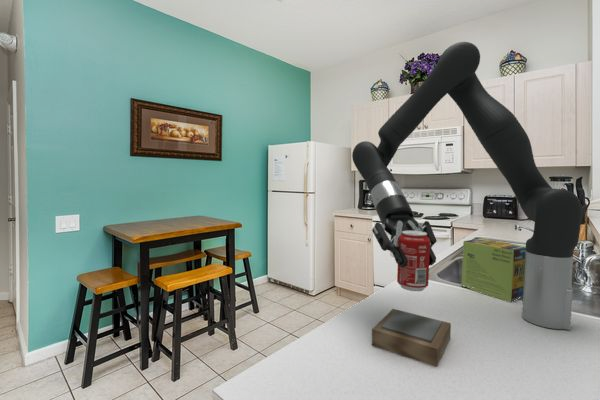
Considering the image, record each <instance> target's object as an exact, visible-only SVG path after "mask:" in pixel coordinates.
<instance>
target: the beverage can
mask: <svg viewBox="0 0 600 400" xmlns="http://www.w3.org/2000/svg"><path fill="white" fill-rule="evenodd" d="M399 244H400V246H399V247H401V250H402V251H403V253H404V255H405V257H406V259H407V262H408V263H407V265H406V266H405V267H400V266H399V265H398V264H397V273H396V274H397V275H396V277H397V281H396V282H397V283H398V284H399V286H400V287H401V288H402V289H404V290H406V291H408V292H409V291H410V292H422V291H424V290H425V289H426V288H428V286H429V277H430V275H429V272H430V266H429V256H430V239H429V238H428V237H427V233H426V232H422V231H402V235H401V236H400V238H399Z"/></svg>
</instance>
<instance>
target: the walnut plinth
mask: <svg viewBox="0 0 600 400" xmlns="http://www.w3.org/2000/svg"><path fill="white" fill-rule="evenodd" d="M451 327H452V325H451V322H447V321H443V320H439V319H435V318H432V317H427V316H424V315H419V314H415V313H411V312H408V311H404V310H399V309H395V308H392V309H391V310H390V311H389V312H388V313H387V314H386V315H385V316H384V317H383V318H382V319H380V320H379V321H378V322H377V324H375V326H374V327H372V329H371V346H374V347H376V348H380V349H382V350H386V351H388V352H391V353H393V354H397V355H400V356H403V357H405V358H409V359H412V360H415V361H418V362H422V363H424V364H427V365H430V366H433V367H436V368H437V367H438V366H439V363H440V361H441V359H442V356H443V355H444V353H445V350H446V348H447V347H448V344H449V343H450V342H449V341H450V340H451Z"/></svg>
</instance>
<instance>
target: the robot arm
mask: <svg viewBox="0 0 600 400" xmlns="http://www.w3.org/2000/svg"><path fill="white" fill-rule="evenodd" d="M438 59H439V60H438V61H437V63H436V65H435V66H434V67H433V68H432V70H431V72H430V73H429V74H428V76H427V77H426V78H425V79H424V81H423V82H422V83H421V84H420V86H419V87H418V88H417V89H416V90H415V91H414V92H413V93H412V94H411V95H410V96H409V98H407V99H406V100H405V102H404V103H403V104H402V105H401V106H400V107H399V108H398V109H397V110H396V111H395V112H394V113H393V114H392V115H391V116H390V118H388V120H386V121H385V123H384V124H383V125H382V126H381V127H380V128H379V130H378V137H379V139H380V142H379V144H378V146H376V145H375V143H373V142H371V141H365V140H364V141H361V142H359V143H357V144H356V145H355V146H354V147H353V150H352V153H351V157H352V162H353V164H354V166H355V168H356V169H357V170H358V172H359V174H360V176H361V177H362V179H363V180H364V182H365V183H366V187H367V189H368V192H369V194H370V196H371V201H372V204H373V206H374V209H375V211H376V213H377V215H378V218H379V221H380V222H375V224H374V226H373V227H372V229H371V230H372V233H373V235H374V237H375V239H376V241H377V243H378V244H379V246H380V248H381V250H382V251H384V252H385V251H389V252H390V253H392V256H393V258H394V261H395V263H396V264H397V266H398V265H399V266H400V267H405V266H406V265H407V263H408V262H407V259H406V257H405V255H404V253H403V251H402V250H401V247H399V246H400V244H399V238H400V236H401V235H402V231H422V232H426V233H427V237H428V238H429V239H430V256H429V267H430V266H433V265H434V264H435V263H436V261H437V257H436V255H435V253H434V251H433V249H432V247H433V246H434V245H435V244H436V243H437V242H438V241H437V238H436V236H435V234H434V230H433V228H432V226H431V223H430V222H429V221H427V220H426V221H424V222H418V221H417V220H416V219H415V218H414V214H413V209H412V208H411V205H410V204H409V201H408V200H407V197H406V196H405V194H404V192H403V191H402V188H401V187H400V185H398V183H397V181H396V179H395V177H394V175H393V173H392V171H391V170H390V169H389V168H388V166H390V165H389V164H390V163H391V162H392V160H393V158H394V157H395V155H396V153H397V150H399V147H400V146H401V145H402V144H403V143H404V142H405V141H406V140H407V138H409V137H410V135H411V134H412V133H413V132H414V131H415V130H416V129H417V128H418V126H419V125H420V124H421V123H422V122H423V121H424V119H425V118H426V117H427V115H428V114H429V113H430V112H431V111H432V110H433V108H434V107H435V106H436V105H438V103H439V102H440V101H441V100H443V98H444V97H445V96H446V95H447V94H448V96H449V97H450V98H451V99H452V100H453V101H454V104H456V105H457V106H458V108H459V110H460V111H461V113H462V115H463V116H464V118H465V120H466V122H467V123H468V125H469V127H470V128H471V129H472V131H473V133H474V135H475V136H476V138H477V140H478V142H479V143H480V144H481V146H482V148H483V149H484V150H485V153H487V155H488V156H489V157H490V159H491V160H492V162H493V163H494V165H495V166H496V167H497V169H498V171H499V172H500V173H501V175H502V176H503V177H504V178H505V179H506V181H507V183H508V185H509V186H510V188H511V191H512V193H513V194H514V196H515V198H516V200H517V202H518V204H519V206H520V208H521V210H522V212H523V214H524V215H525V217H526V218H528V219H529V220H530V221H532V222H533V223H534V226H533V234H532V236H531V237H529V238H528V239H527V240H525V241H526V242H525V246H526V248H525V269H524V287H523V298H522V307H521V310H522V311H521V316H522V317H521V318H522V319H524V320H525V321H527V322H528V323H531V324H533V325H535V326H538V327H542V328H548V329H552V330H553V329H555V330H567V331H570V330H571V324H572V322H571V321H572V306H573V305H572V304H573V289H572V282H573V281H572V280H573V279H572V278H573V264H574V252H575V248H576V247H577V245H578V244H579V239H580V233H581V226H582V216H583V214H582V213H583V210H582V203H581V200H580V198H579V197H578V195H576V194H575V193H574V192H573V191H570V190H567V189H563V188H553V187H552V186H551V185H550V184H549V183H548V182H547V180H546V179H545V178H544V176H543V175H542V173H541V172H540V171H539V169H538V166H537V165H536V162H535V158H534V153H533V148H532V145H531V141H530V140H531V139H530V138H529V135H528V133H527V132H526V130H525V129H524V128H523V126H522V124H521V123H520V122H519V120H518V119H517V117H516V116H515V115H514V113H513V112H511V111H510V109H508V107H506V106H505V105H504V104H502V103H501V102H500V101H498V100H497V99H495V97H493V96H492V95H491V94H490V93H489V92H488V91H487V90H486V88H485V87H484V86H483V84H482V83H481V81H480V79H479V78H478V75H477V73H476V71H477V70H478V68H479V67H480V62H481V54H480V50H479V48H478V47H477V45H475V44H473V43H472V42H469V41H459V42H456V43H454V44H451V45H450V46H448V47H447V48H446V49H445V50H444V51H443V52H442V54H441V56H440V57H439V58H438ZM388 235H390V237H389V236H388Z"/></svg>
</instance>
